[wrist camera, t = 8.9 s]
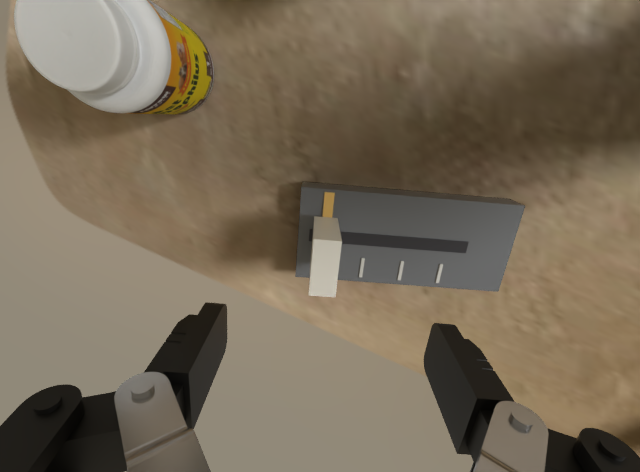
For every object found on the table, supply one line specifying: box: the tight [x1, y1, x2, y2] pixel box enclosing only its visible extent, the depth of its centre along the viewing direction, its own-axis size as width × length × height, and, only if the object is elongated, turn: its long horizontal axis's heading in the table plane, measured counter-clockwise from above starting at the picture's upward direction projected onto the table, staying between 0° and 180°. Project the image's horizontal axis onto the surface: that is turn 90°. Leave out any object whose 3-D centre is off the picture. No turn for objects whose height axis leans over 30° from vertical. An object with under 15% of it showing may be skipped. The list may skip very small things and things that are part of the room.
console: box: [295, 182, 525, 291], centre depth 25 cm, size 7×16×2 cm, turn 85°
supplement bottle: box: [14, 0, 214, 114], centre depth 17 cm, size 6×6×10 cm
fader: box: [309, 216, 342, 297], centre depth 21 cm, size 4×2×5 cm, turn 175°
